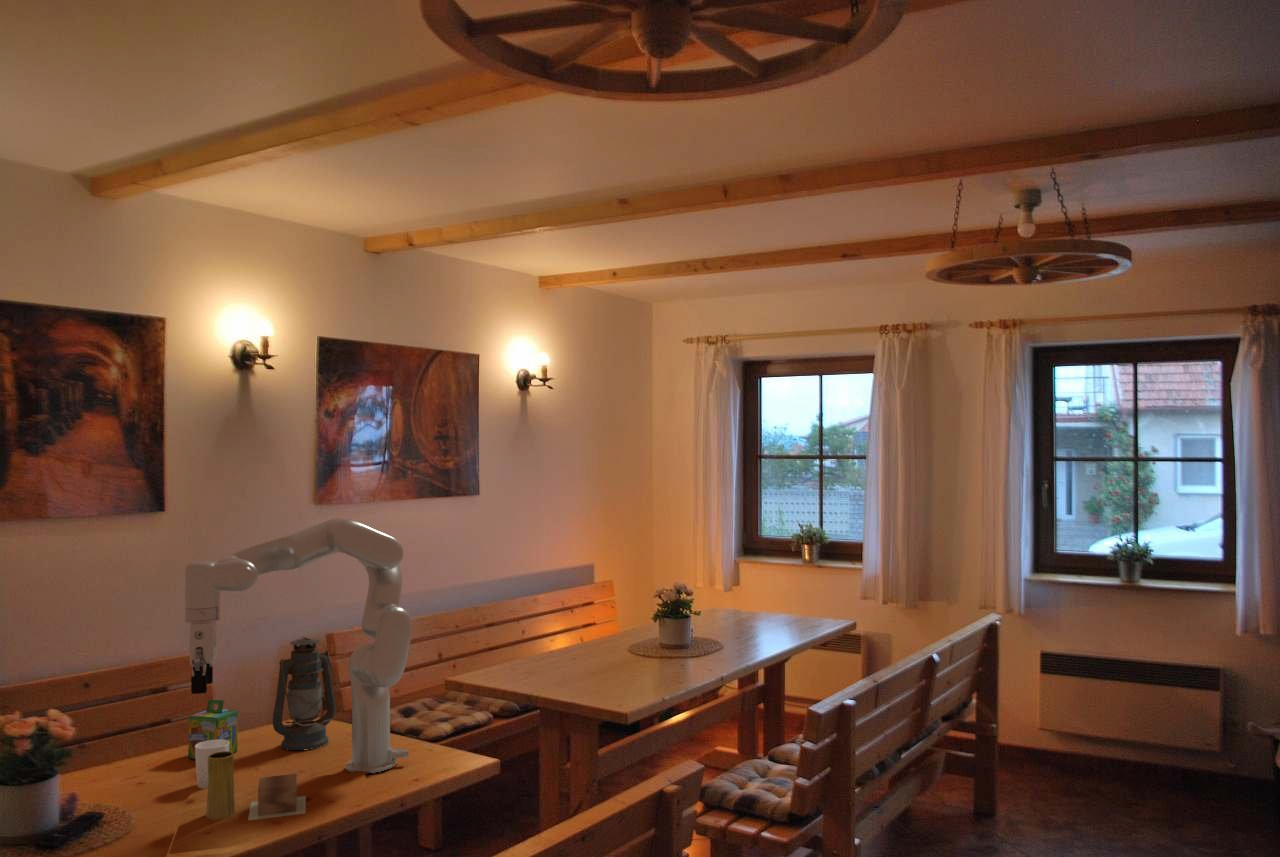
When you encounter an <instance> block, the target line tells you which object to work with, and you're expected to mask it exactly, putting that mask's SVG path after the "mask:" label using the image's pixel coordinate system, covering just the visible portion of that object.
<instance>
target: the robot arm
mask: <svg viewBox="0 0 1280 857" xmlns="http://www.w3.org/2000/svg"><path fill="white" fill-rule="evenodd" d="M337 553H342V554H346V555H348V556H350V557H353V558H355V559H357V561H358V562H359V563H360V564H361V565H362V566H363V568H364V569H365V570H366V572H367V575H368V588H367V595H366V599H365V605H364V610H363V615H362V619H361V629H362V631H363V633H364V634H365V635H366V636H367V637H369V638H371V639H373V640H374V643H363V644H362V645H359V646H357V647H356V648H355V649H354V650H353V651H352V653H351V654H350V657H349V660H348V675H349V679H350V688H351V746H352V747H351V755H352V756H351V759H350V760H349V761H347V762H346V764H345V770H346V771H347V772H348V773H351V774H352V773H360V772H361V773H362V772H364V774H365V775H367V774H366V773H373V774H376V773H375V772H379V773H381V772H380V771H384V770H387V769H389V768H391V767H393V766H394V765H395V764H396V765H397V759H398V758H408V757H409V749H403V748H397V749H394V748H392V745H391V726H390V724H391V720H390V719H391V712H390V711H391V707H390V706H391V705H390V704H391V696H390V687H392V686H394V685H396V684H398V682H399V681H400V680H401V678H402V676H403V674H404V672H405V668H406V666H407V664H406V663H407V660H408V655H409V654H408V653H409V650H410V645H411V644H410V643H411V641H412V640H411V639H412V634H413V622H412V618H411V615H410V613H409V612H408V611H407V610H406V609H405V608H403V607H401V606H400V601H401V596H402V595H401V594H402V589H403V588H402V587H403V576H402V571H401V568H400V563H401V561H402V560H403V557H404V549H403V546H402V543H401V542H400V541H399V540H397V539H396V538H395V537H393V536H391V535H390V534H389V535H388V534H387V533H384V532H382V531H380V530H377V529H374V528H372V527H369V526H367V525H366V524H364V523H361V522H358V521H356V520H353V519H346V518H339V517H338V518H332V519H327V520H325V521H322V522H320V523H317V524H314V525H312V526H310V527H307V528H304V529H301V530H299V531H296V532H293V533H292V534H288V535H286V536H282V537H278V538H276V539H273V540H270V541H266V542H263V543H260V544H256V545H253V546H250V547H247V548H244V549H241V550H239V551H236V552H233V553H230V554H228V555H226V556H223V557H221V558H220V559H218V560H217V561H214V560H213V561H212V560H202V561H201V560H200V561H193V562H192V561H191V562H189V563H188V564H186V566H185V570H184V623H185V624H189V664H190V666H191V667H192V668H191V669H192V670H191V677H190V678H191V682H190V684H191V685H190V686H191V687H190V689H191V690H190V693H191V695H197V694H205V693H207V691H208V689H207V688H208V685H211V684H213V682H214V681H213V680H214V670H213V669H214V666H213V664H214V663H215V662H216V661H217V659H218V638H217V637H218V634H217V622H219V621H220V620H221V591H222V592H223V591H225V592H243V591H247V590H248V589H250V588H252V587H253V586H254V585H255V584H256V582H257V581H258V578H259V577H258V576H261V575H263V574H268V573H271V572H272V573H273V572H279V571H280V572H281V571H290V570H295V569H298V568H302V567H304V566H307V565H310V564H312V563H314V562H316V561H319V560H321V559H323V558H327V557H330V556H331V555H334V554H337ZM396 765H395V766H396ZM393 768H394V767H393ZM387 771H388V770H387ZM384 772H385V771H384Z"/></svg>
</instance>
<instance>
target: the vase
mask: <svg viewBox="0 0 1280 857" xmlns="http://www.w3.org/2000/svg"><path fill="white" fill-rule="evenodd" d="M234 777H235V776H234V753H232V752H229V751H222V752H216V753H212V754H210V755H209V756H208V789H207V800H206V801H207V802H206V814H205V817H206V819H207V820H224V819H226V818H230V817H232V816H234V815H235V812H236V811H235V810H236V809H235V804H236V802H235V781H234Z"/></svg>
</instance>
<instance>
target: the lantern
mask: <svg viewBox="0 0 1280 857" xmlns="http://www.w3.org/2000/svg"><path fill="white" fill-rule="evenodd" d="M320 641H321V640H319V639H314V638H308V637H306V636H301V637H300V639H299V638H298V639H295V640H293V641H291V642H289V644H290V645H293V650H291V651H290V658H287V659H284V658H281V659H280V661H279V672H278V681H277V688H276V696H275V702H274V708H273V714H272V728H273V730H274V731H275V732H276V733H277V734H278V735H282V736H283V739H282V741H281V746H282V748H284V749H288V750H304V749H311V748H317V747H320V746H323V745H325V744H327V743H328V741H329V736H328V735H327V725H328V724H329V723H330V722H331V721H332V720H335V719H338V717H339V716H340V715H341V713H342V711H343V701H342V700H343V699H342V694H341V692H340V687H339V683H338V680H337V677H336V673H335V671H334V667H333V664H332V662H331V658H330V653H329V651H328V650H325V651H323V652H321V653H320V652H319V649H317V644H318V643H320ZM331 671H332V672H331ZM319 673H321V675H322V676H321V677H322V678H320V677H319ZM331 673H333V677H334V680H335V683H336V688H337V691H338V695H339V699H340V710H339V712H338V714H337V715H336V710H337V708H336V707H337V706H336V705H337V704H336V699H335V692H334V687H333V681H332V674H331ZM289 675H290V676H291V679H290V680H288V677H289ZM287 685H288V686H287ZM322 686H323V688H324V689H323V688H322ZM285 700H286V702H287V703H286V704H287V707H288V711H289V713H288V714H289V718H290V719H291V721H285V724H284V723H283V713H284V705H285ZM321 708H322V709H321ZM325 711H326V712H325ZM320 712H321V716H319V714H320ZM324 712H325V714H324ZM335 715H336V716H335ZM328 744H329V743H328ZM328 744H327V745H328ZM281 746H280V747H281ZM323 747H324V746H323ZM282 748H281V749H282ZM284 749H283V750H284ZM288 750H287V751H288Z"/></svg>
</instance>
